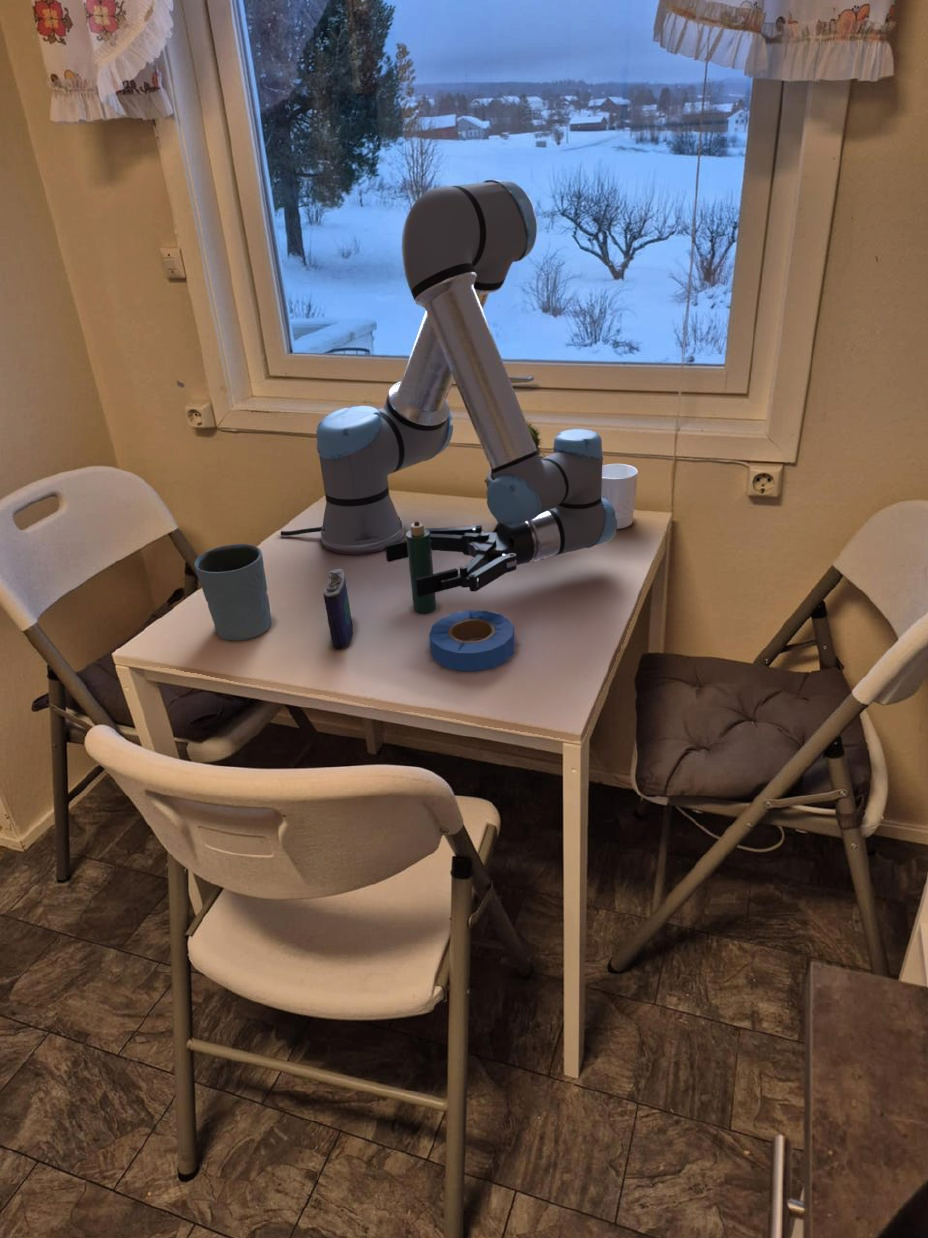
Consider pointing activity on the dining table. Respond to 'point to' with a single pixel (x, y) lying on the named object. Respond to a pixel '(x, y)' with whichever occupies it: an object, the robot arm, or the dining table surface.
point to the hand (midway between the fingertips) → (400, 570)
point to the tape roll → (472, 654)
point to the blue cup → (235, 590)
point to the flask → (338, 610)
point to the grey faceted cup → (620, 491)
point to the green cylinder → (420, 565)
